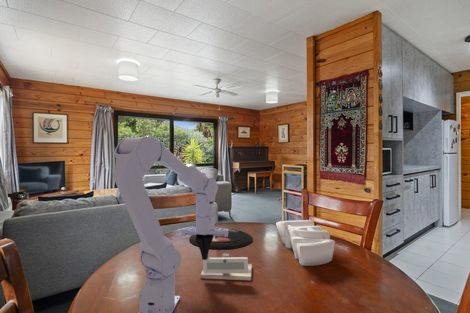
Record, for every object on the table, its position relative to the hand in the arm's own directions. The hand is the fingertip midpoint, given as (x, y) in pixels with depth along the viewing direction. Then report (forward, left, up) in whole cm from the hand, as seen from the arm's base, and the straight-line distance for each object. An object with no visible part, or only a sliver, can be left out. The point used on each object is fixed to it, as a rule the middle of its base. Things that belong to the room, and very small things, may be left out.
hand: (205, 258), depth 76 cm
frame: (0, -7, -4) cm, 8 cm away
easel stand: (+5, -6, -7) cm, 11 cm away
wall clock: (+38, +1, -7) cm, 38 cm away
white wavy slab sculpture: (+26, -35, -7) cm, 44 cm away
